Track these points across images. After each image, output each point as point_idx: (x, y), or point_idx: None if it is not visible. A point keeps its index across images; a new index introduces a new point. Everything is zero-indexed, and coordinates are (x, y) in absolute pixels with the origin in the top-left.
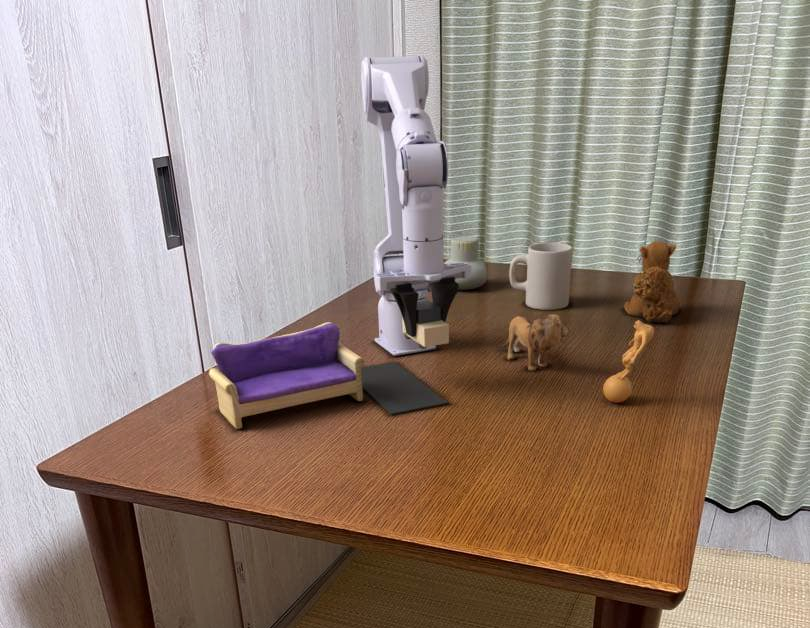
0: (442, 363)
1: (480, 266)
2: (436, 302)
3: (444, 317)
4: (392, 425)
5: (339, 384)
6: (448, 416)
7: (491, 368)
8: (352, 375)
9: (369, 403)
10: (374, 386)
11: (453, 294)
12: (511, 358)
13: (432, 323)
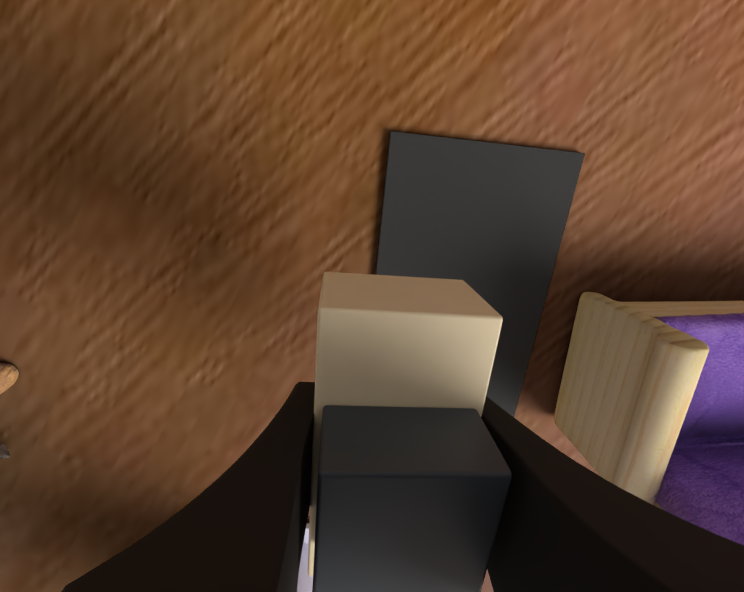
0: (235, 434)
1: None
2: (294, 567)
3: (288, 421)
4: (627, 75)
5: (702, 314)
6: (445, 29)
7: (107, 333)
8: (676, 323)
9: (569, 273)
10: (498, 364)
11: (160, 550)
12: (4, 364)
13: (400, 380)
